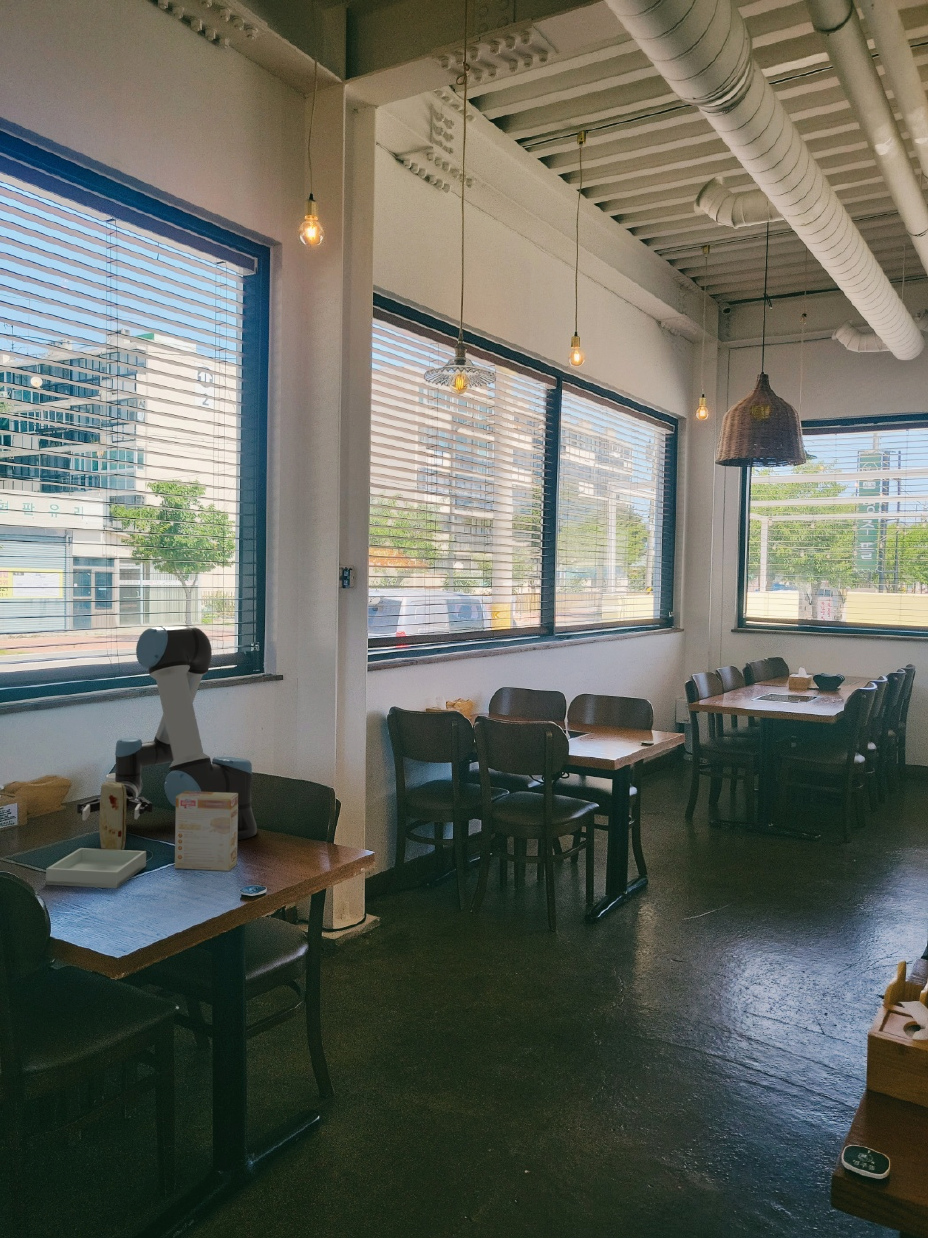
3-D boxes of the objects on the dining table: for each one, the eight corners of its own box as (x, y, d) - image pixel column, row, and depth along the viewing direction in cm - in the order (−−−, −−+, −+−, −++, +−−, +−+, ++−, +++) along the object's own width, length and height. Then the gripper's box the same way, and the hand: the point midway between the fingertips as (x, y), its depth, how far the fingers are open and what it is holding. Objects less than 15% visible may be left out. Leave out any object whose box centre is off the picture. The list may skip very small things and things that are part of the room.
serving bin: (145, 866, 249) (146, 851, 249) (116, 888, 231) (116, 872, 231) (80, 862, 250) (80, 848, 250) (45, 884, 232) (46, 868, 232)
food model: (93, 850, 261) (95, 779, 260) (118, 847, 265) (119, 777, 264) (105, 859, 253) (106, 786, 252) (130, 855, 257) (131, 783, 256)
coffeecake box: (237, 863, 253) (239, 792, 253) (229, 872, 246) (230, 798, 245) (183, 861, 254) (184, 790, 253) (173, 869, 247) (175, 796, 246)
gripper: (166, 808, 281) (157, 827, 260) (78, 810, 276) (61, 829, 255) (166, 783, 281) (157, 800, 260) (78, 784, 276) (62, 802, 255)
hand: (110, 815), depth 257 cm, fingers open, 13 cm apart
